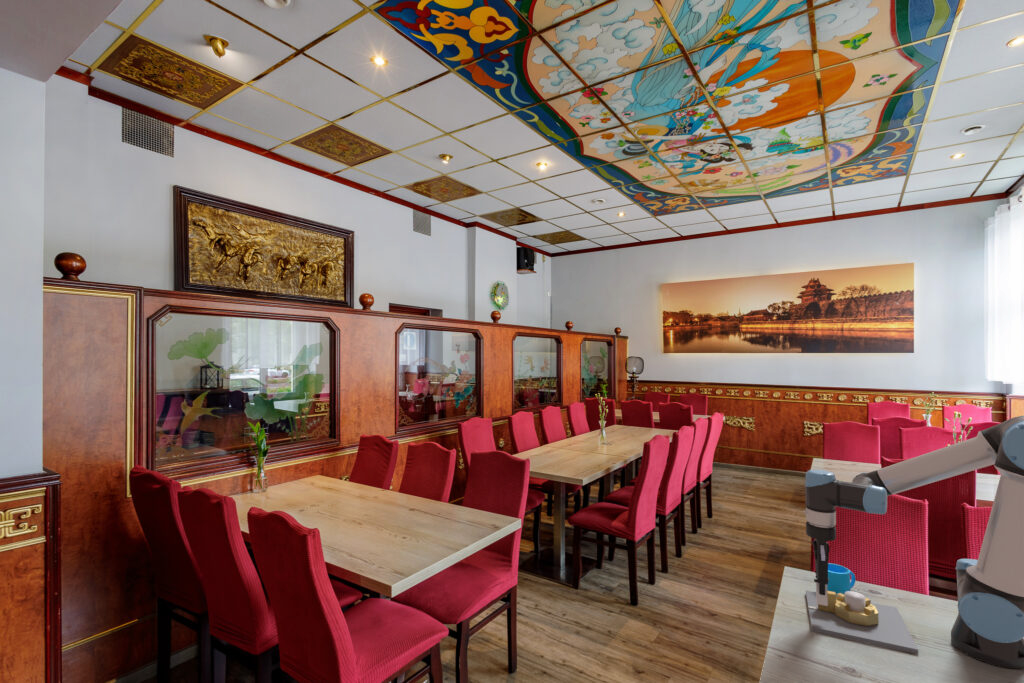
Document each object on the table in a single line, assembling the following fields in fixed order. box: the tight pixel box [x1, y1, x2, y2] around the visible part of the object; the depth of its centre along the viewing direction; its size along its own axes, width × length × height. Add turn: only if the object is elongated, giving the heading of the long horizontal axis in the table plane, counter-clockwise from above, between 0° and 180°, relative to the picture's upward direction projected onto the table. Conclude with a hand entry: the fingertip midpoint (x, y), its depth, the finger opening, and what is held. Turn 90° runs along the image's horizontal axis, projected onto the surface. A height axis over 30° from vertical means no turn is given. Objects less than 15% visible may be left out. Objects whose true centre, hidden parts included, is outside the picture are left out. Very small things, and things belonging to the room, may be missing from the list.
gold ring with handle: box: [818, 591, 879, 626], centre depth 144 cm, size 15×10×6 cm
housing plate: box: [805, 590, 919, 655], centre depth 143 cm, size 24×24×8 cm
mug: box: [827, 562, 857, 596], centre depth 160 cm, size 12×8×8 cm
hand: (821, 603), depth 142 cm, fingers closed
